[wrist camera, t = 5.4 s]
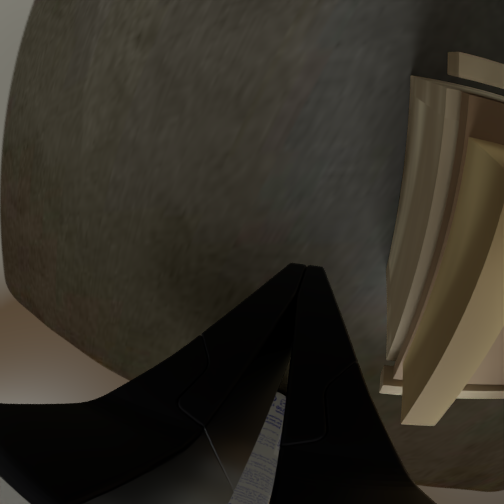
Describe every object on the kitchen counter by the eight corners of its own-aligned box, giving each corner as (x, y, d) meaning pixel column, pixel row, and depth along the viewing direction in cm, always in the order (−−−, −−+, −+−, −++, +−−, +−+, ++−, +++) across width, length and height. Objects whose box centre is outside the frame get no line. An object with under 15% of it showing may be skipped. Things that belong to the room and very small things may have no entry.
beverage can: (234, 377, 27) (163, 533, 15) (299, 390, 25) (242, 560, 13) (241, 407, 30) (184, 540, 18) (296, 419, 28) (249, 561, 16)
